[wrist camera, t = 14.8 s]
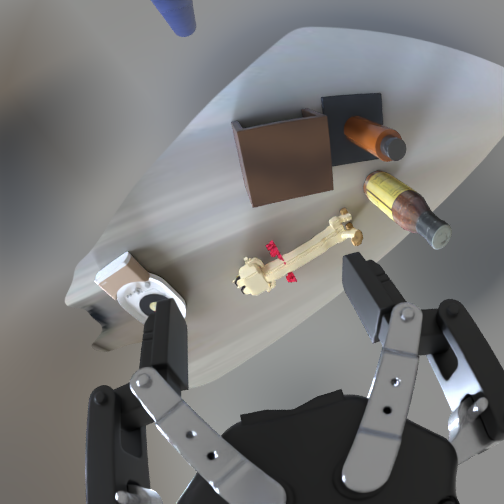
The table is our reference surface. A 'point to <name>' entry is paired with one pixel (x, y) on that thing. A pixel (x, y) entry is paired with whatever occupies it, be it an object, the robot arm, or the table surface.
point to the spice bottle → (375, 138)
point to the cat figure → (293, 257)
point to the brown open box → (285, 158)
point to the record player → (136, 287)
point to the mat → (338, 114)
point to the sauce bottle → (406, 208)
